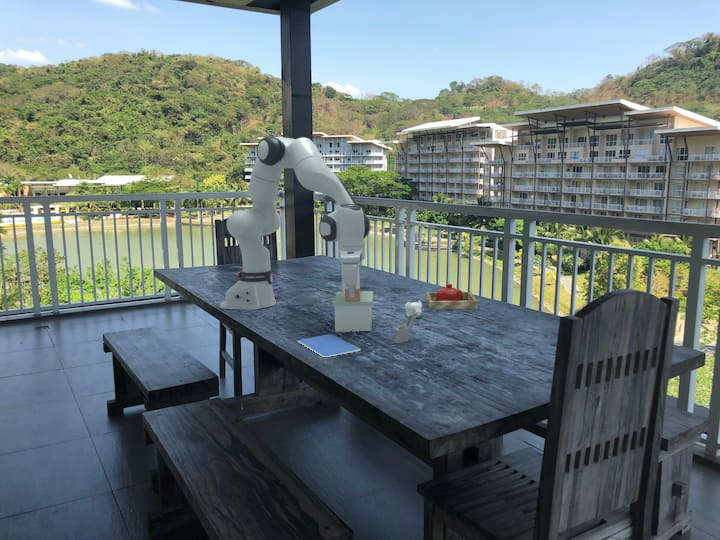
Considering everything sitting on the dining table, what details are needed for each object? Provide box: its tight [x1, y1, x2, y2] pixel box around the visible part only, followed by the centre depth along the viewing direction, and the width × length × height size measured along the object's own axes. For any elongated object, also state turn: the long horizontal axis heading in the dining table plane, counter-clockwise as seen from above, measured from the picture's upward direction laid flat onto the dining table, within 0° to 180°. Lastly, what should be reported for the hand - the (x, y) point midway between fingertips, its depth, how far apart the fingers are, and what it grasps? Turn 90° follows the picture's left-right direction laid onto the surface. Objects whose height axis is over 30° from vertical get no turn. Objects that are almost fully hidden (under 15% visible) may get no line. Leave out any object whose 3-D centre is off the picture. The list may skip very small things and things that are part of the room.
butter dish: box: [434, 283, 468, 301], centre depth 219 cm, size 12×12×8 cm
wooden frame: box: [425, 291, 479, 310], centre depth 219 cm, size 18×17×3 cm
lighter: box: [394, 315, 417, 345], centre depth 171 cm, size 7×2×8 cm, turn 123°
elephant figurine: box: [404, 300, 423, 318], centre depth 200 cm, size 7×8×6 cm
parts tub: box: [333, 305, 373, 333], centre depth 190 cm, size 12×16×9 cm
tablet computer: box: [297, 333, 362, 358], centre depth 167 cm, size 19×13×1 cm, turn 30°
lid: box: [332, 287, 374, 307], centre depth 189 cm, size 13×17×6 cm
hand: (352, 295), depth 182 cm, fingers open, 5 cm apart
